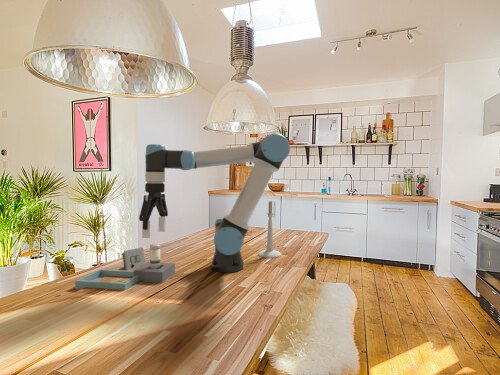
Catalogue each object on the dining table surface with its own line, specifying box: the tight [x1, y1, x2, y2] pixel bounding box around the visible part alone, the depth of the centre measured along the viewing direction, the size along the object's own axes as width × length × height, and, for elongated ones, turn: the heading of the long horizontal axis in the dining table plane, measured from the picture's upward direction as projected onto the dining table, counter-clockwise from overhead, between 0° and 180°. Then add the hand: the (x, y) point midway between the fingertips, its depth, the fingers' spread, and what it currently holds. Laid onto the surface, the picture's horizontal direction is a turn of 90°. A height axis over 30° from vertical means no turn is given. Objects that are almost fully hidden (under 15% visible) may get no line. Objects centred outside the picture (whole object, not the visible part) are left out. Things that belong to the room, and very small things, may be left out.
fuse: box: [149, 243, 161, 269], centre depth 117 cm, size 4×4×13 cm
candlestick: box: [257, 200, 282, 259], centre depth 156 cm, size 13×13×30 cm
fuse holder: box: [133, 261, 176, 284], centre depth 117 cm, size 12×12×5 cm
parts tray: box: [74, 268, 139, 291], centre depth 111 cm, size 20×14×3 cm
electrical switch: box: [121, 247, 147, 271], centre depth 131 cm, size 9×5×9 cm, turn 141°
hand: (154, 234), depth 117 cm, fingers open, 13 cm apart
